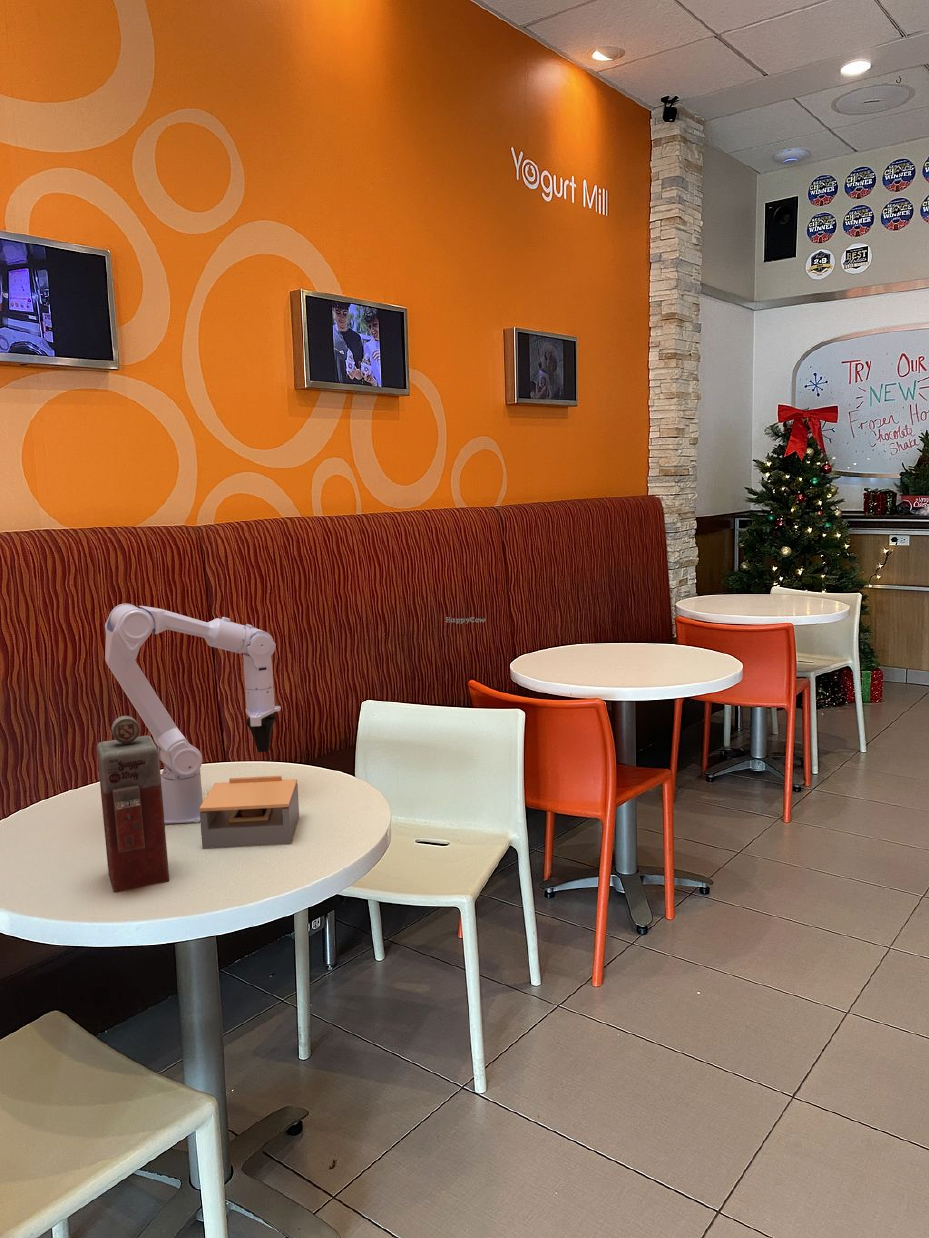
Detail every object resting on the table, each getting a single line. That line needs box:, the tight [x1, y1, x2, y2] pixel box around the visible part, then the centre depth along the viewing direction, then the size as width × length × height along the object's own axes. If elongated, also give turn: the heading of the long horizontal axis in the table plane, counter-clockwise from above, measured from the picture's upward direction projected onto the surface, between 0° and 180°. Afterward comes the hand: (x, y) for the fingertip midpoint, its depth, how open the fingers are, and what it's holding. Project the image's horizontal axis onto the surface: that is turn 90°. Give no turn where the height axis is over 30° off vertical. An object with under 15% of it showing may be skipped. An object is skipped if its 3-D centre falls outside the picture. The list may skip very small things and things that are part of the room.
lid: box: [199, 775, 298, 811], centre depth 177 cm, size 16×14×1 cm
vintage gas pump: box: [96, 715, 170, 893], centre depth 156 cm, size 9×11×28 cm
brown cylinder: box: [241, 808, 263, 817], centre depth 178 cm, size 4×4×6 cm
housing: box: [199, 783, 300, 849], centre depth 178 cm, size 16×14×7 cm
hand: (263, 751), depth 194 cm, fingers closed
